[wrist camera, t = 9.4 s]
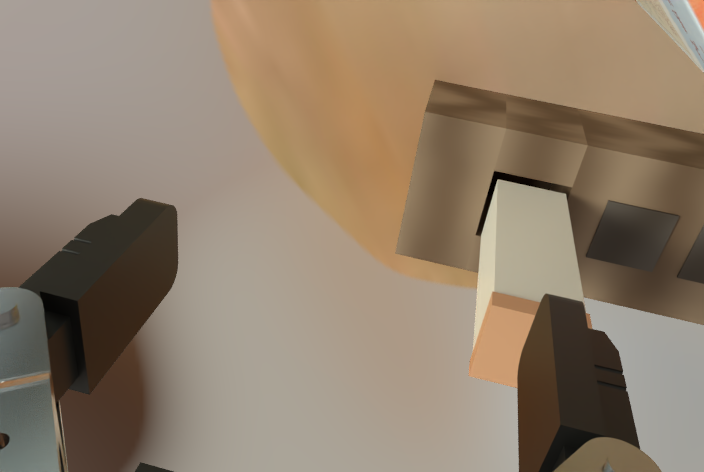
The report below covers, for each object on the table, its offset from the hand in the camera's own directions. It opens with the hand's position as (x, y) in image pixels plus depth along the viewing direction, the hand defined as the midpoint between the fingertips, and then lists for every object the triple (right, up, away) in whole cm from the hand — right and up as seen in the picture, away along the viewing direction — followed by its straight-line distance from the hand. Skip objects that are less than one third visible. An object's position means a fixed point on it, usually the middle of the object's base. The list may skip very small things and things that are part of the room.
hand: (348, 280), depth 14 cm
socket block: (+16, +5, +29) cm, 34 cm away
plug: (+10, +2, +25) cm, 27 cm away
